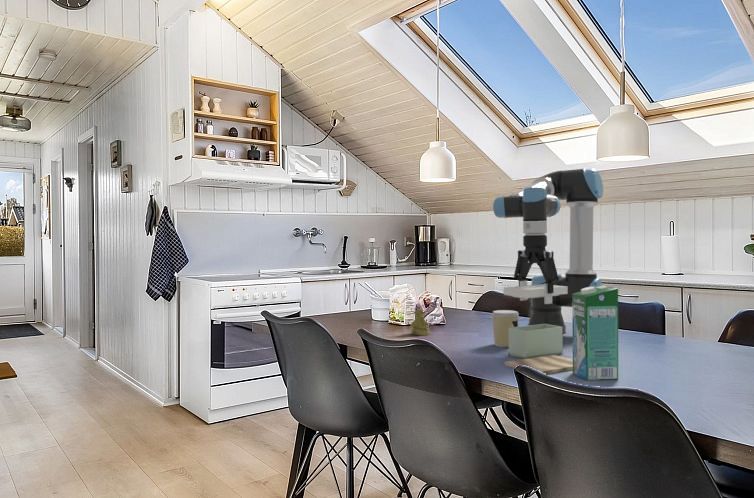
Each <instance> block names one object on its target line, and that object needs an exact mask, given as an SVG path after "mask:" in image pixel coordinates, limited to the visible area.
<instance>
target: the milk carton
mask: <svg viewBox="0 0 754 498" xmlns="http://www.w3.org/2000/svg"><path fill="white" fill-rule="evenodd" d="M571 308H572V312H571V313H572V359H573V370H572V374H574V375H576V376H578V377H580V378H581V377H582V379H583V378H584V380H585V379H586V380H585V381H587V380H588V381H594V380H593V379H617V380H619V288H618V287H613V286H608V285H603V284H602V285H601V286H598V287H594V286H592V287H586V288H583V289H581V291H580V292H577V293H573V294H572V307H571Z"/></svg>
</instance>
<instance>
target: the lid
mask: <svg viewBox="0 0 754 498" xmlns="http://www.w3.org/2000/svg"><path fill="white" fill-rule="evenodd" d="M560 294H568V286H557V285H553V293H552V296H558V295H560ZM503 296H510V297H513V298H518V299H520V298H525V299H527V300H528V299H531V298H538V297H544V284H540V285H528V284H527V286H519V285H518V286H507V287H503Z"/></svg>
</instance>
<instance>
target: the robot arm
mask: <svg viewBox="0 0 754 498" xmlns="http://www.w3.org/2000/svg"><path fill="white" fill-rule="evenodd" d="M603 195H604V185H603V180H602V176H601V174H600V172H599V171H598V170H597V169H596V168H576V169H568V170H567V169H564V170H556V171H553V172H549V173H547V174H545V175H542V176H539V177H538V178H536V179H535V180H534V181H532V183H531V184H530V185H528V186H525V187H523V189H520V190H518V191H517V192H514V193H512V194H511V195H509V196H508V195H507V196H498V197H496V198H495V199H494V200H493V204H492V209H493V213H494V215H495V217H496V218H500V219H501V218H503V219H508V218H522V230H523V231H522V232H523V234H524V235H523V236H522V239H523V241H522V242H523V243H522V245H523V247H525V248H524V249H522V250H520V249H519V250H518V251H517V261H516V264H515V265H516V266H515V270H514V274H513V278H514V279H516V280H517V281H518V286H528V279H527V277H528V275H529V273H530V271H531V270H530V269H531V267H532V266H533V265H534V264H536V265H537V266H538V267H539V269H540V271H541V275H535V276H533V277H532V279H531V285H540V284H544V297H538V298H530V299H531V300H530V301H531V313H530V316H529V320H528V323H527V324H526V326H529V325H538V324H549V325H555V326H561V327H562V334H565V333H566V332H567V326H566V324H565V320H564V317H563V313H562V307H564V308H565V307H566V308H572V294H573V293H577V292H580V291H581V289H583V288H586V287H592V286H594V287H598V286H601V285H603V283H602V280H601V278H599V277H598V275H597V272H596V271H595V270H594V269H593V268H594V267H593V265H594V262H593V261H594V260H593V259H594V258H593V257H594V254H593V253H594V208H595V207H596V206H597V205H598V204H599V203H598V200H599V199H601V198H602V197H603ZM561 200H564V201H566V203H565V205H566V206H568V207H569V209H570V210H569V211H570V212H569V215H570V217H569V269H567V270H566V271H565V275H564V276H565V277H563V276H562V274H561V273H558V271H557V268H556V263H555V259H554V253H555V252H554V251H553V250H548V251H547V250H546V247H547V245H548V235H546V234H547V233H548V220H547V218H550V217H551V218H552V217H554V216H556V215H557V214H558V213H560V210H561V208H562V207H561V206H562V205H561V202H560V201H561ZM553 285H557V286H568V294H560V295H558V296H552V293H553ZM519 301H521V302H522V301H528V299H525V298H519Z"/></svg>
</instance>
